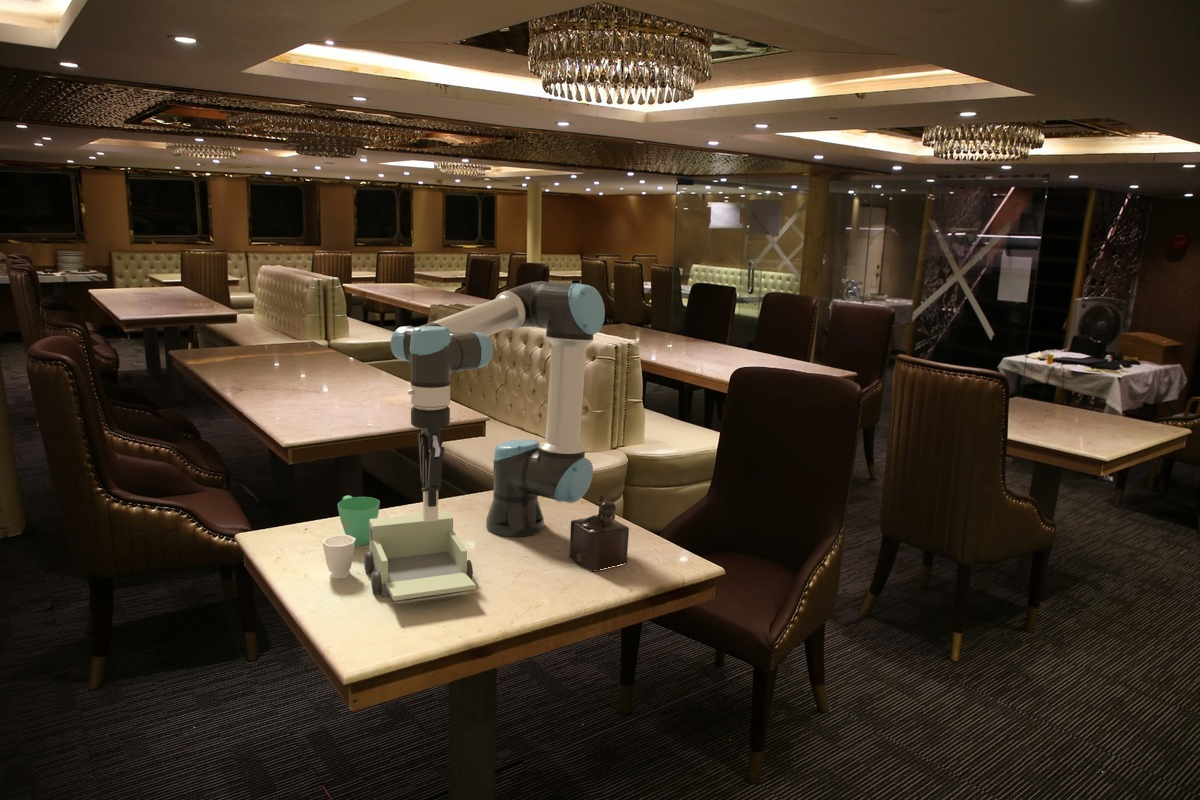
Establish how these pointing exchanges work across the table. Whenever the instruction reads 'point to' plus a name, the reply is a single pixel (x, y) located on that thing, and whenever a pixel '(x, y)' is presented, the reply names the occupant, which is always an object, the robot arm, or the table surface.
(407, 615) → the table surface
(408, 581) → the panel
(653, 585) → the table surface
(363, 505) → the mug
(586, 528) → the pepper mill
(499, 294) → the robot arm
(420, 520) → the pickup truck
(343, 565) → the cup
